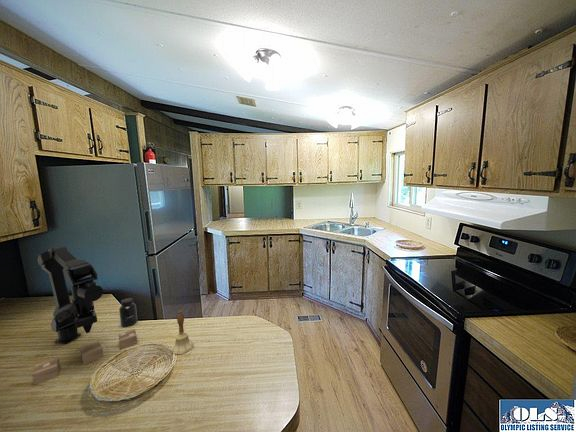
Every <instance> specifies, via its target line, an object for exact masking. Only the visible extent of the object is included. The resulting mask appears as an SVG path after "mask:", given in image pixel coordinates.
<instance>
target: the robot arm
mask: <svg viewBox="0 0 576 432" xmlns="http://www.w3.org/2000/svg"><path fill="white" fill-rule="evenodd" d="M37 263H38V265H39V266H40V267H41V270H42V271H44V272H46V273H47V274H48V277H49V281H50V285H51V290H52V294H53V297H54V302H55V308H54V310H53V312H52V315H53V318H52V320H51V322H50V323H51V324H50V327H51V330H52V331H54V332H55V333H57V338H58V339H56V340H55V341H54V343H55V344H64V345H66V344H69V343H70V342H72V341H74V340H76V339H77V338H79V337H80V336H82V333H81V332H80V333H78V328H83V329H84V332H85V333H86V334H90V333H91V330H92V327H93V324H95V323H97V322H98V316H97V313H96V310H95V301H97V300H99V299H101V298H102V296H103V294H104V288H102V287H101V286H100V285H98V284H96V281H95V280H98V279H99V278H98V272H97V271H96V269H95V268H94V266H93V265H92V263H89V262H88V261H86V260H85V259H78V258H77V257H76V256H75V255H74V254H72V253H71V252H70V251H69V250H68V248H67V247H66V246H64V245H61V246H56V247H51V248H49V249H47V250H46V251H44V252H42V253H40V254H39V256H38V257H37ZM66 281H67V283H69V285H70V288H71V289H70V290H71V295H72V299H70V298H71V297H70V294H69V290H68V286H67V283H66Z"/></svg>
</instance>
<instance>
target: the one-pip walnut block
mask: <svg viewBox="0 0 576 432" xmlns="http://www.w3.org/2000/svg"><path fill="white" fill-rule="evenodd" d="M60 370H61V362H60V357H59V356H57V357H55V358H52V359H49V360H46V361H43V362H39V363H37V364H35V366H34V369H33V371H32V372H33V373H32V377H33V383H34V385H37V384H40V383H42V382H44V381H45V382H46V381H48V380H51V379H53V378H56V377H59V375H60Z"/></svg>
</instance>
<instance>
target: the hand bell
mask: <svg viewBox="0 0 576 432" xmlns="http://www.w3.org/2000/svg"><path fill="white" fill-rule="evenodd" d="M176 321H177V324H178V330H179V331H178V334H177V335H176V336H175V342H174V345H173V346H172V348H171V352H172V351H173V352H174V355H183V354H186V353H188V352H190V351H191V350H192V349H193V348H194V342H193V341H192V340H190V338H189V335H188V333H187V332H185V330H184V329H185V328H184V323H185V322H184V321H185V316H184V313H183V311H182V310H181V309H180V310H178V312H177V315H176Z"/></svg>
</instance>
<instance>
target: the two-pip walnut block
mask: <svg viewBox="0 0 576 432" xmlns="http://www.w3.org/2000/svg"><path fill="white" fill-rule="evenodd" d="M118 342H119V343H118V344H119V349H120V350H123V349H126V348H129V347H132V346H134V345H138V337H137V330H136V329H135V328H133V329H130V330H127V331H124V332H120V333H119V334H118Z"/></svg>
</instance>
